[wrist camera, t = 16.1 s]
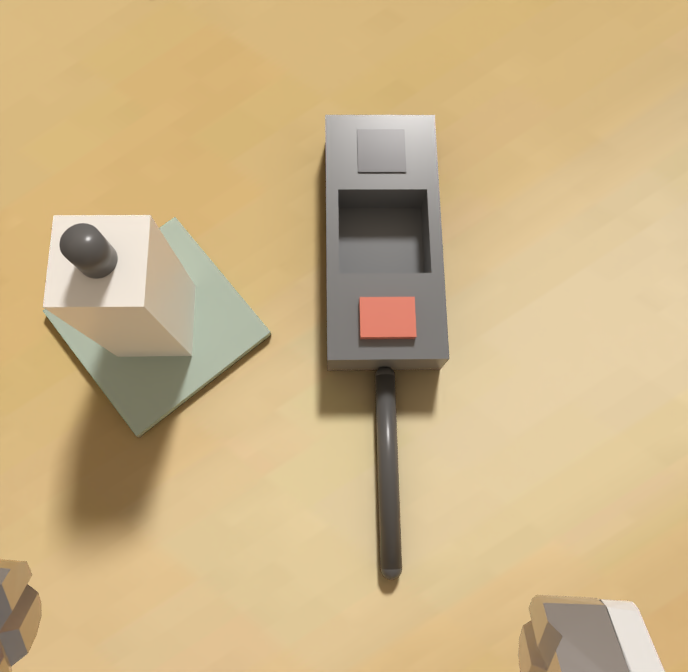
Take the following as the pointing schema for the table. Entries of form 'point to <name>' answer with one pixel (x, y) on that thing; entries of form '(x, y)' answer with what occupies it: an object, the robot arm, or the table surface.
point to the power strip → (384, 273)
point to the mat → (174, 371)
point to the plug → (120, 285)
